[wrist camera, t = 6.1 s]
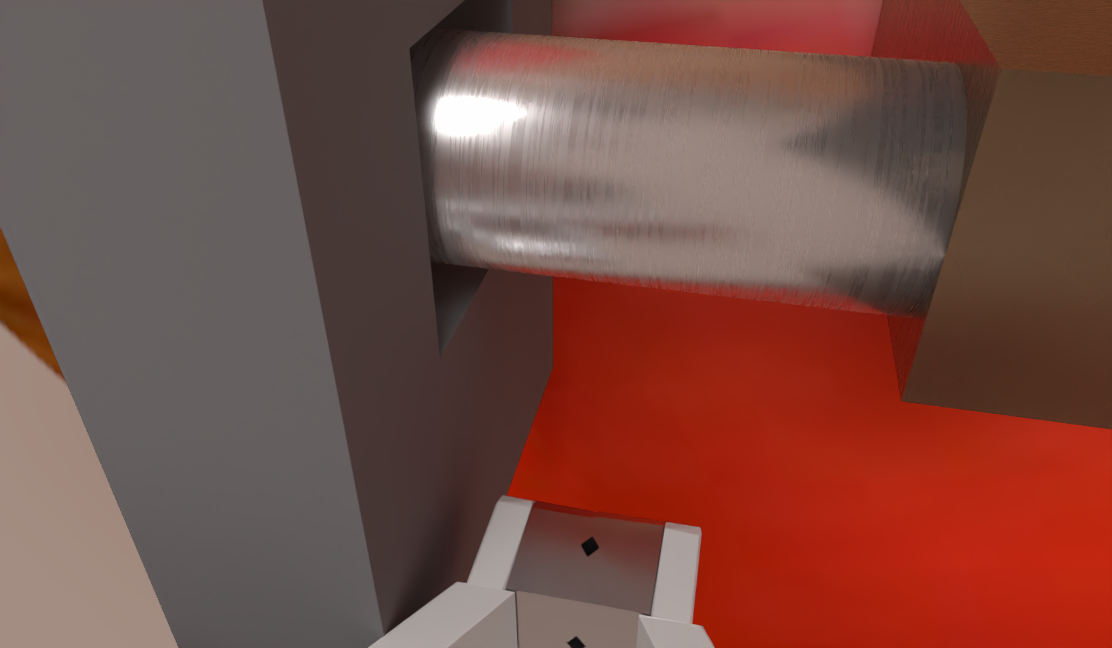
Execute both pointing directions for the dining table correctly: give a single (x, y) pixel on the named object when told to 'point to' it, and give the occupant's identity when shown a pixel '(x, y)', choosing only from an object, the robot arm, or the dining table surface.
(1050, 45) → the rod stand
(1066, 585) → the dining table surface
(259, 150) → the grey flat block
